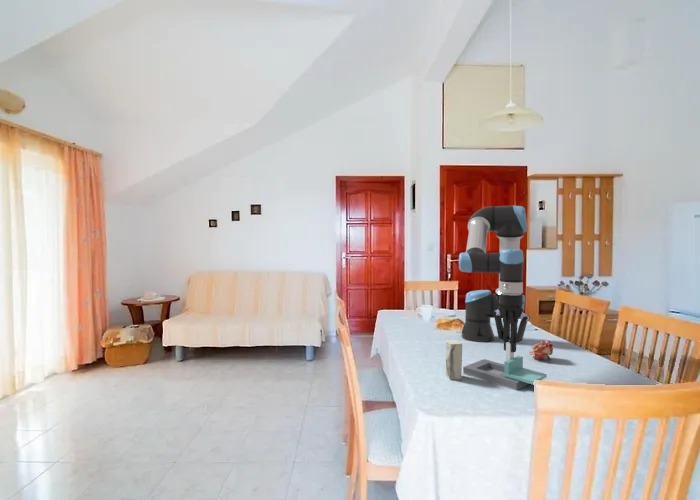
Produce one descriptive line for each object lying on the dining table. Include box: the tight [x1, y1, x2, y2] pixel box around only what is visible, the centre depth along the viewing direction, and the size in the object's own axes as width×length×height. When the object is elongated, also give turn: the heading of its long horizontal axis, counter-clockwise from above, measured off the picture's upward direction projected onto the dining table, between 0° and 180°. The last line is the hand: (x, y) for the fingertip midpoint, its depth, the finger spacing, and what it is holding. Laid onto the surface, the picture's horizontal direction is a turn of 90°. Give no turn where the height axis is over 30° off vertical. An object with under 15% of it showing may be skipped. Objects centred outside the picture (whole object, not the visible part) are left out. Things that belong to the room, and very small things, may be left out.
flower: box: [528, 340, 554, 362], centre depth 158 cm, size 10×9×8 cm
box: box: [445, 339, 463, 381], centre depth 138 cm, size 5×4×13 cm
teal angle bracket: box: [503, 355, 548, 385], centre depth 132 cm, size 10×10×5 cm
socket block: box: [462, 358, 529, 391], centre depth 139 cm, size 20×14×2 cm
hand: (509, 360), depth 136 cm, fingers closed
